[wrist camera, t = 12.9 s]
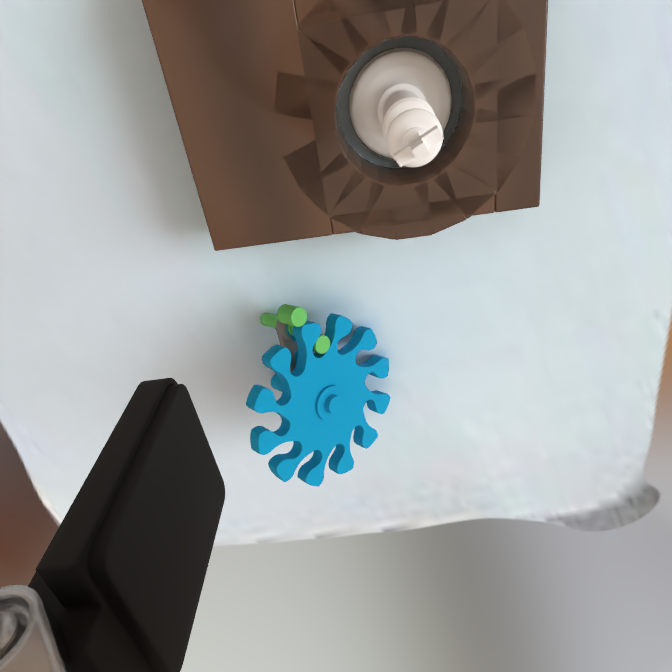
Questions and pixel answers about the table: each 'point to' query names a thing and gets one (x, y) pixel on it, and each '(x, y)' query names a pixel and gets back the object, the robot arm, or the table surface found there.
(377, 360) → the blue slotted cogwheel
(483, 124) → the pad
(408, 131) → the chess piece
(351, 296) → the table surface
